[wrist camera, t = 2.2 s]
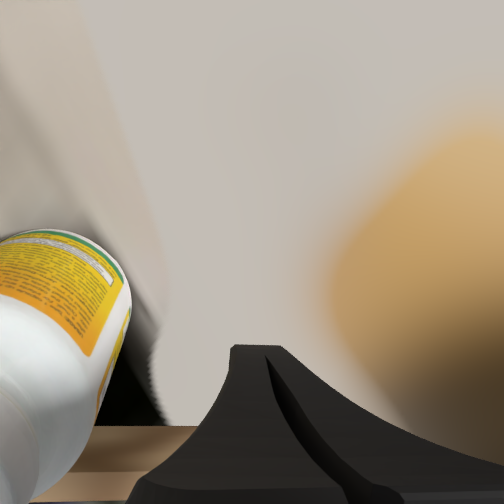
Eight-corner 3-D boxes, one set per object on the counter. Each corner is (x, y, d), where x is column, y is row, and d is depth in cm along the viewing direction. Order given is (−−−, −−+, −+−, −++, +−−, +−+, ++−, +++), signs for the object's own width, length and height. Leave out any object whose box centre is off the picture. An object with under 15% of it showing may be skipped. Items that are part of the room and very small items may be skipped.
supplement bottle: (145, 350, 17) (92, 604, 8) (2, 375, 17) (-228, 673, 8) (116, 213, 16) (8, 334, 7) (-43, 236, 15) (-395, 401, 6)
